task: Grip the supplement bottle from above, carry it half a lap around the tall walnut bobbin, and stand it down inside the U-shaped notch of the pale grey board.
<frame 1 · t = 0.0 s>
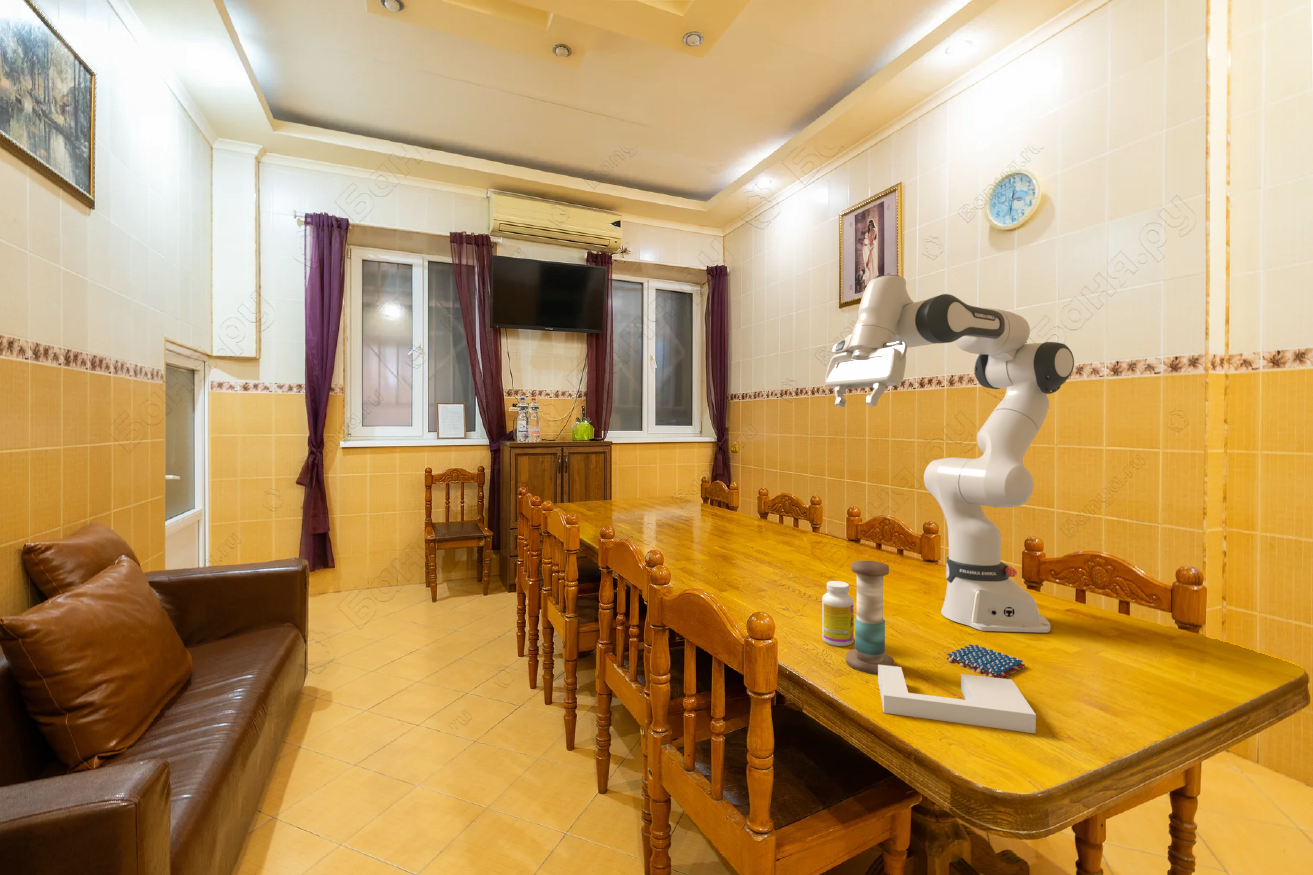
hand: (854, 405, 120), 52 cm above the table, tool tilted 20°, fingers open, 8 cm apart
notched board: (949, 704, 96), on the table
bobbin: (869, 663, 112), on the table
woven mat: (985, 667, 111), on the table
supplement bottle: (837, 642, 123), on the table
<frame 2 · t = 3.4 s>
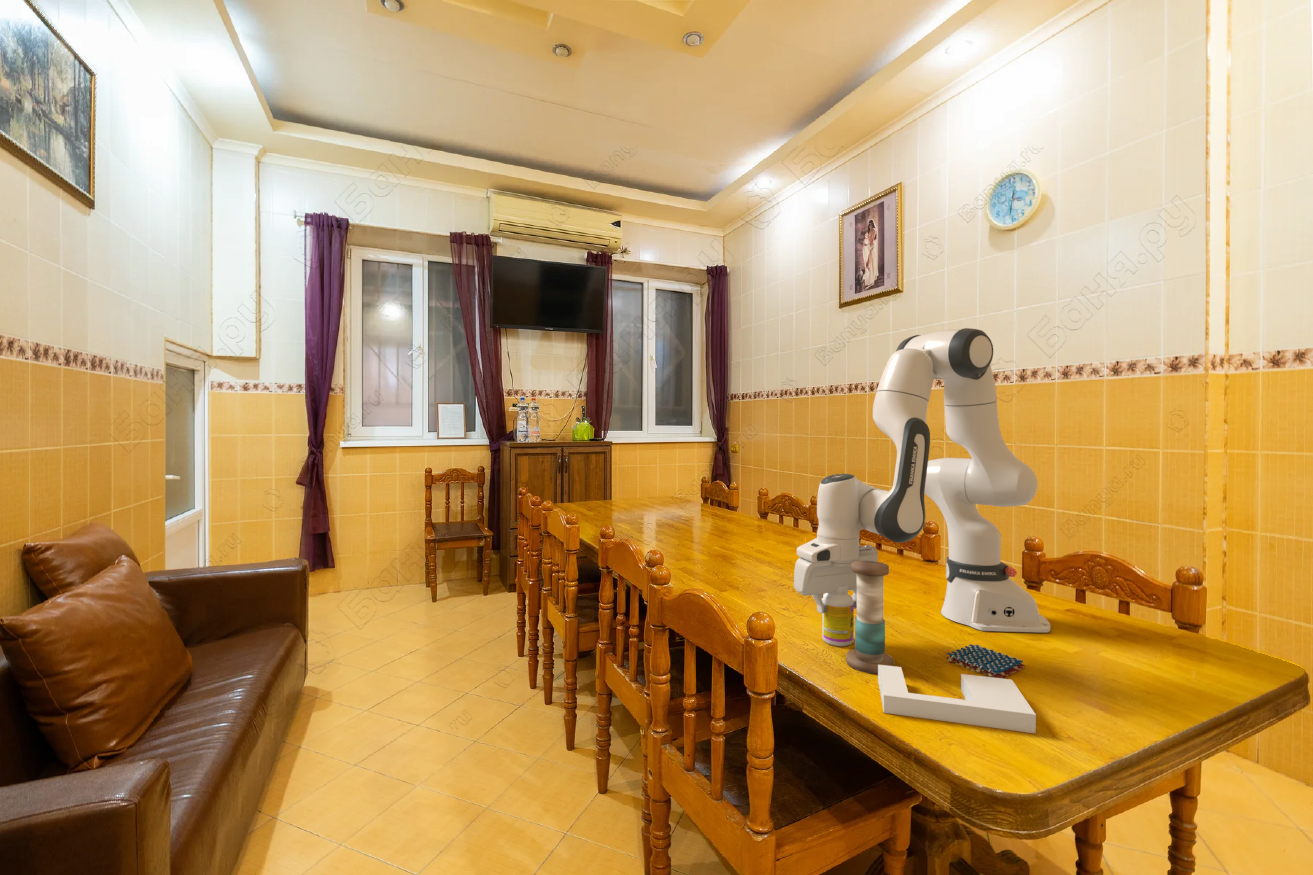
hand: (837, 610, 123), 7 cm above the table, tool pointing down, fingers closed on supplement bottle, 7 cm apart
supplement bottle: (837, 642, 123), on the table, touching gripper
everything else where it was.
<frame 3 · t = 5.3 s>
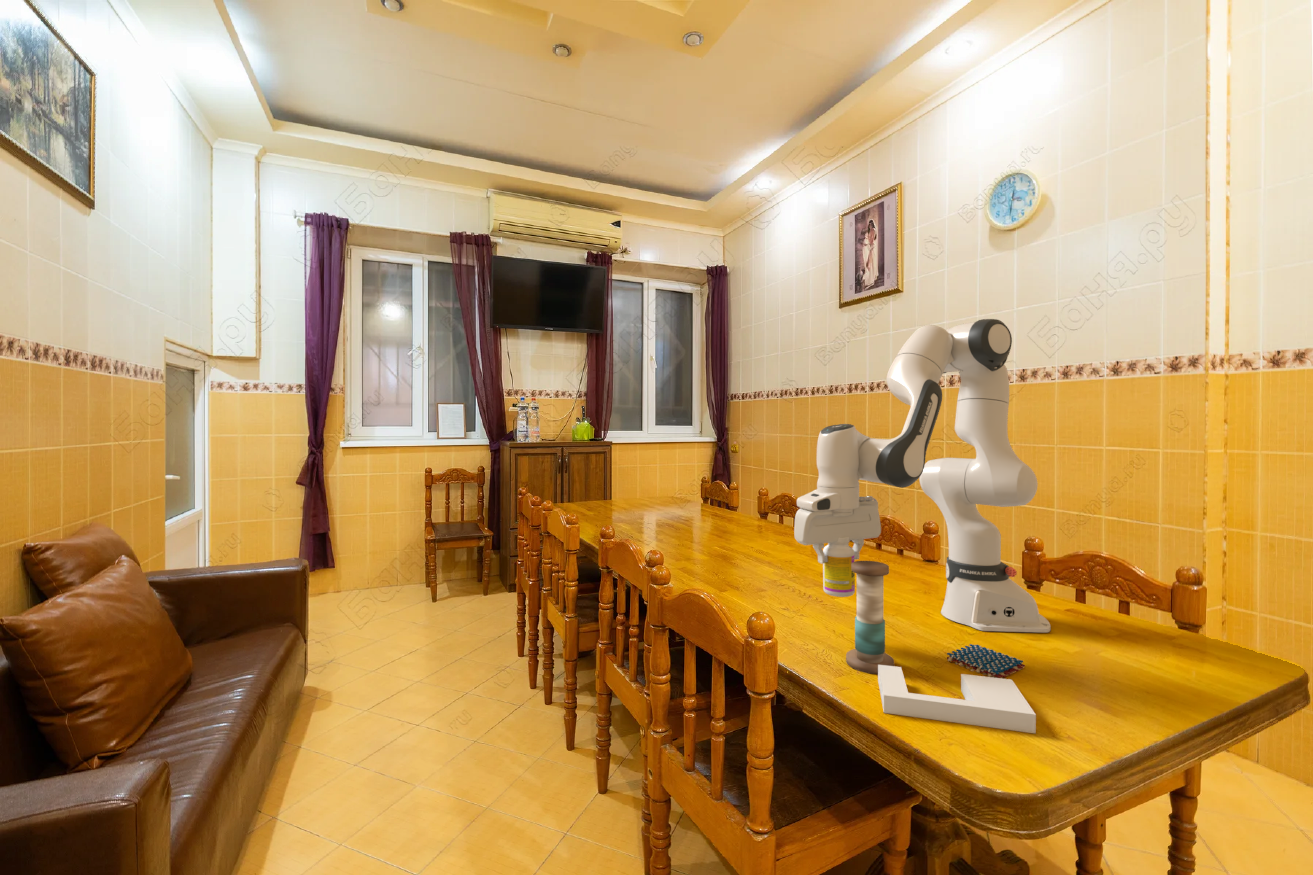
hand: (838, 560, 122), 18 cm above the table, tool pointing down, fingers closed on supplement bottle, 7 cm apart
supplement bottle: (838, 593, 123), point 11 cm above the table, touching gripper
everything else where it was.
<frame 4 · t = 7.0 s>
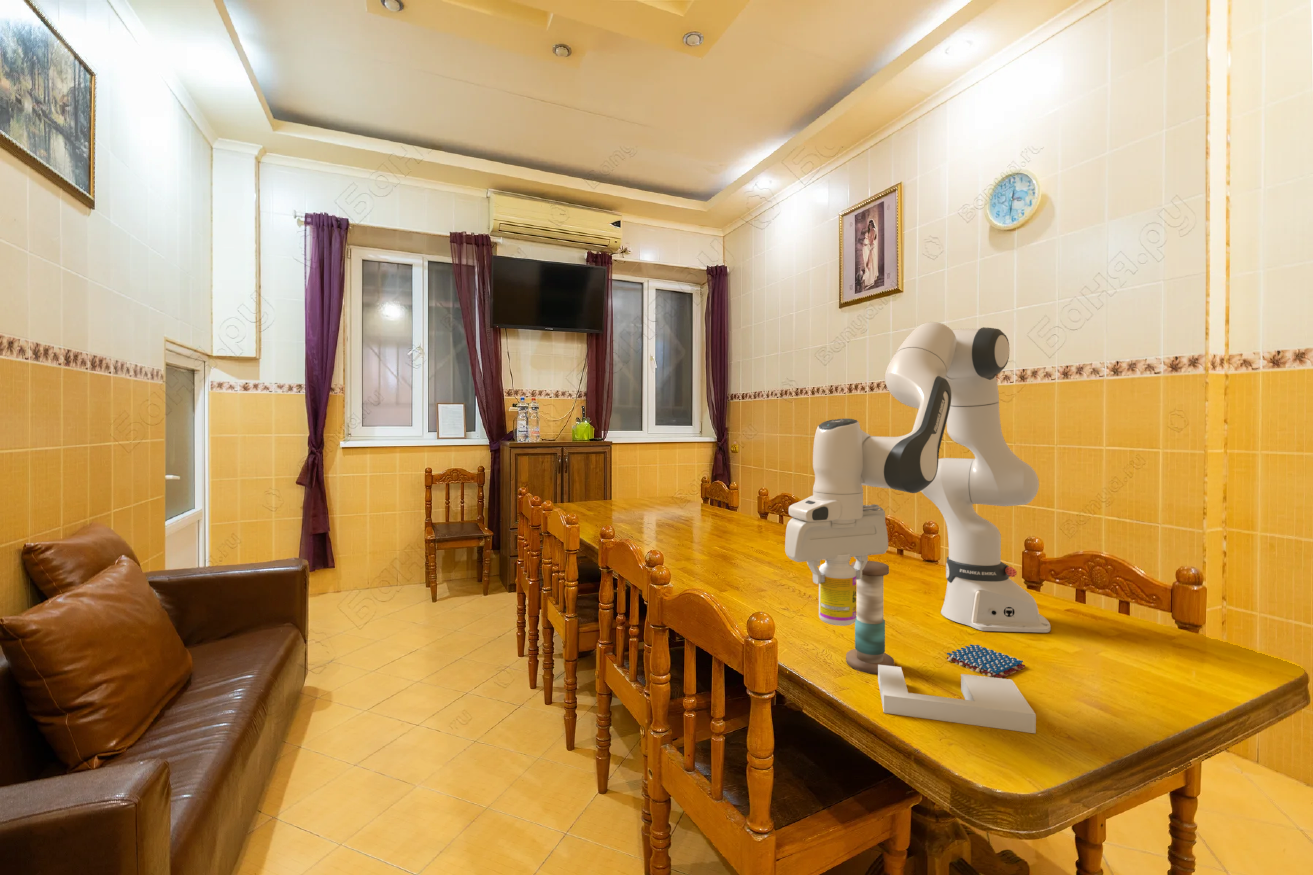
hand: (837, 580, 103), 19 cm above the table, tool pointing down, fingers closed on supplement bottle, 7 cm apart
supplement bottle: (837, 621, 103), point 12 cm above the table, touching gripper
everything else where it was.
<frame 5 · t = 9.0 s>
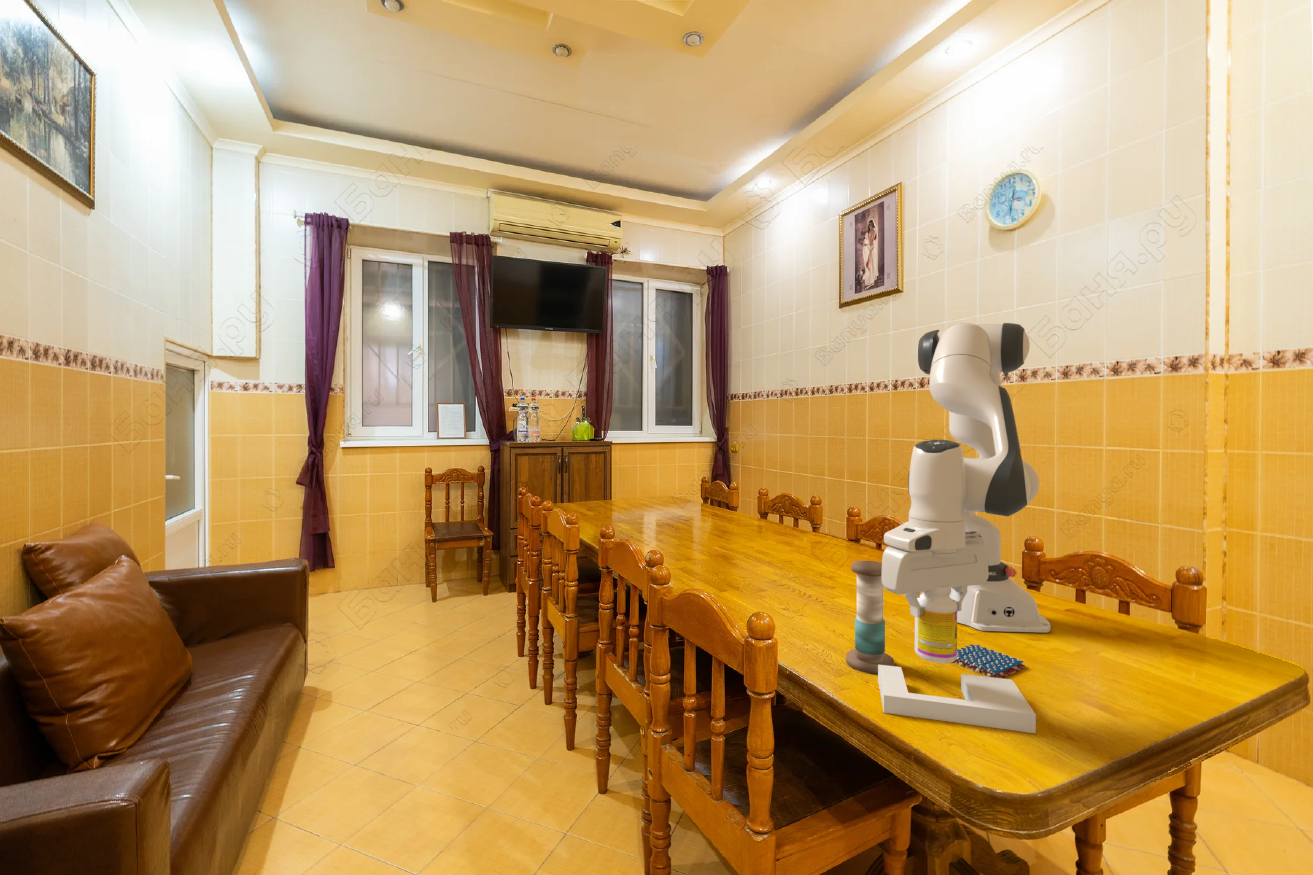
hand: (935, 613, 97), 15 cm above the table, tool pointing down, fingers closed on supplement bottle, 7 cm apart
supplement bottle: (935, 657, 97), point 8 cm above the table, touching gripper
everything else where it was.
when the fingers open (8 cm above the table, at t = 10.7 s): supplement bottle stays where it is, on the table.
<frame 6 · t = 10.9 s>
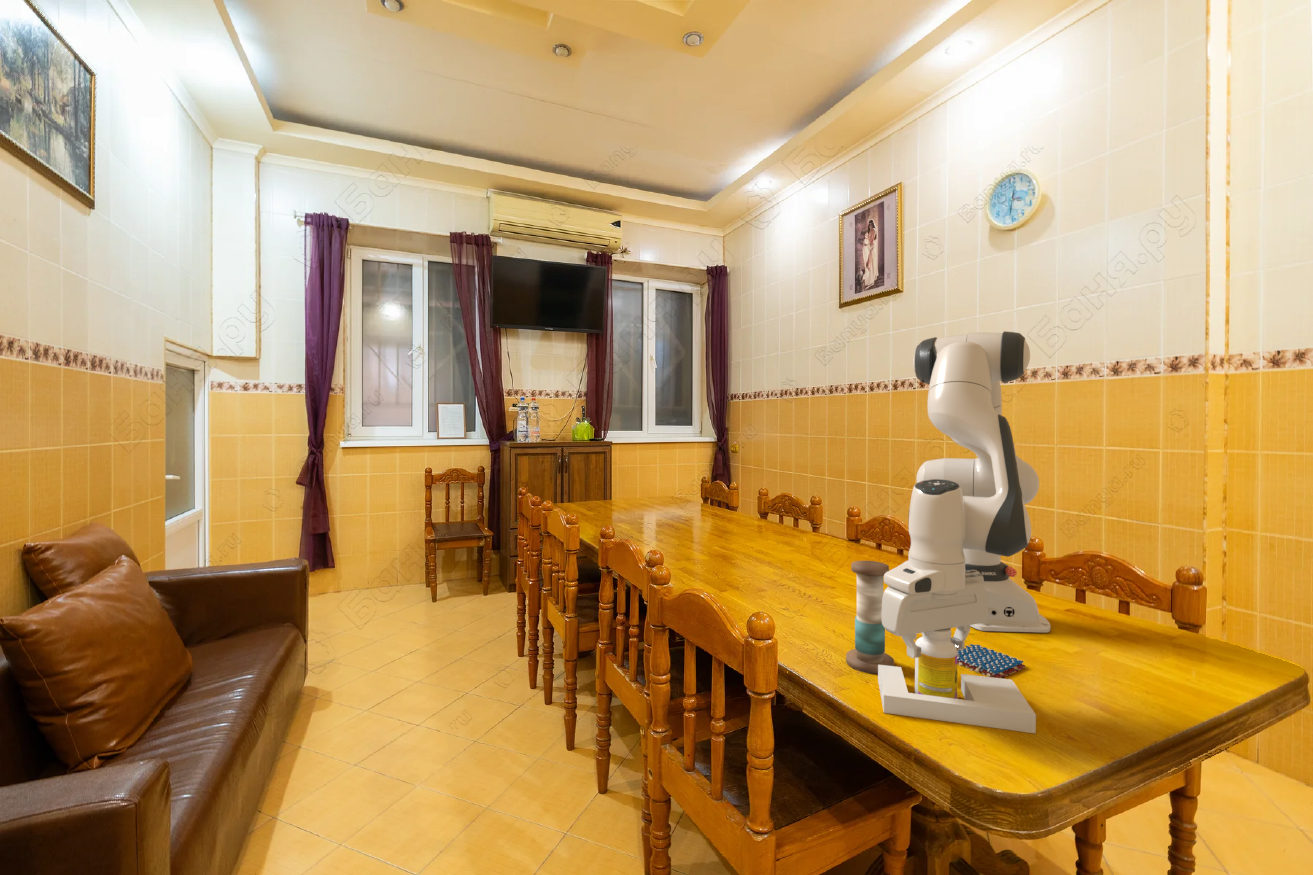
hand: (935, 652, 97), 8 cm above the table, tool pointing down, fingers open, 8 cm apart
supplement bottle: (935, 700, 97), on the table
everything else where it was.
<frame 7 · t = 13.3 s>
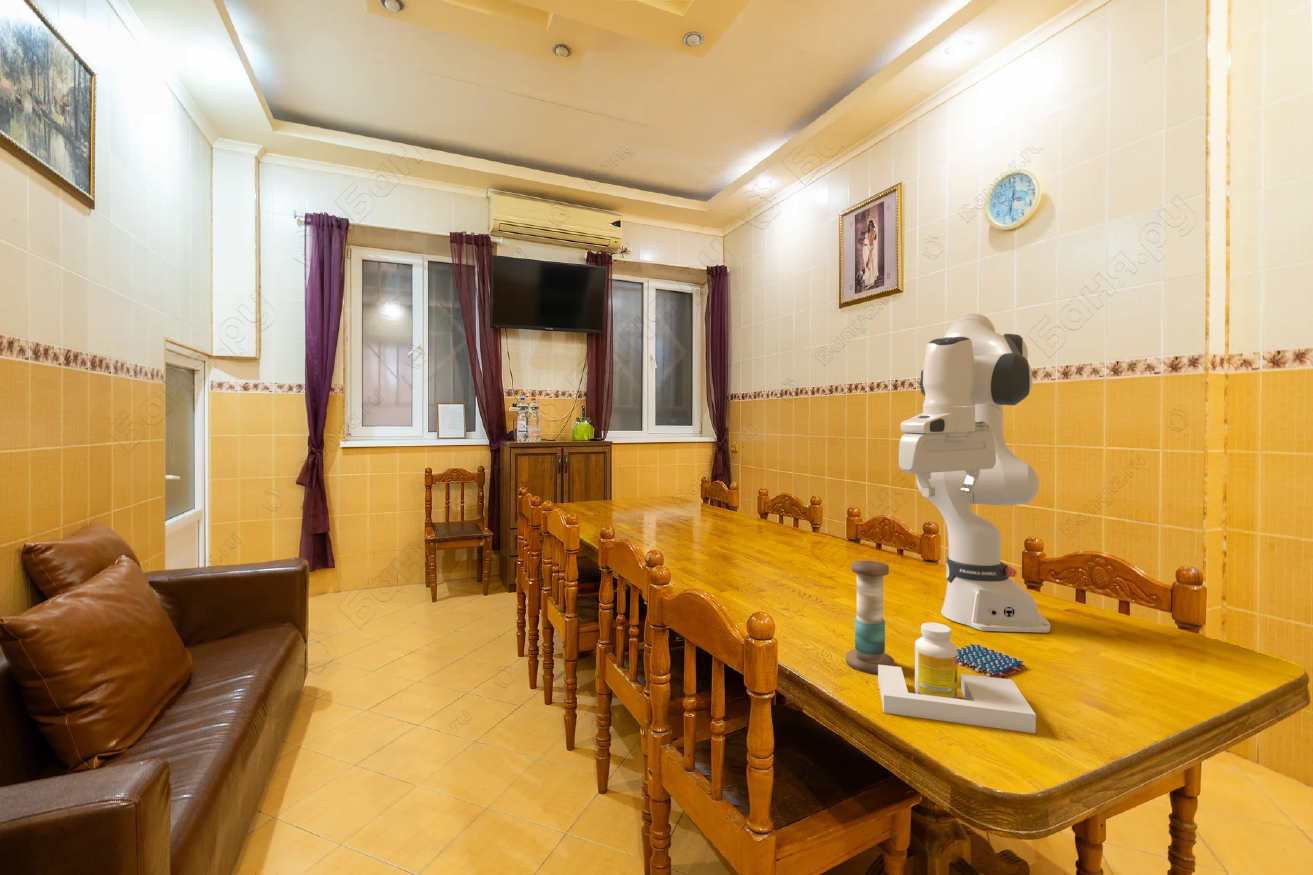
hand: (948, 494, 106), 35 cm above the table, tool pointing down, fingers open, 8 cm apart
nothing on the table moved.
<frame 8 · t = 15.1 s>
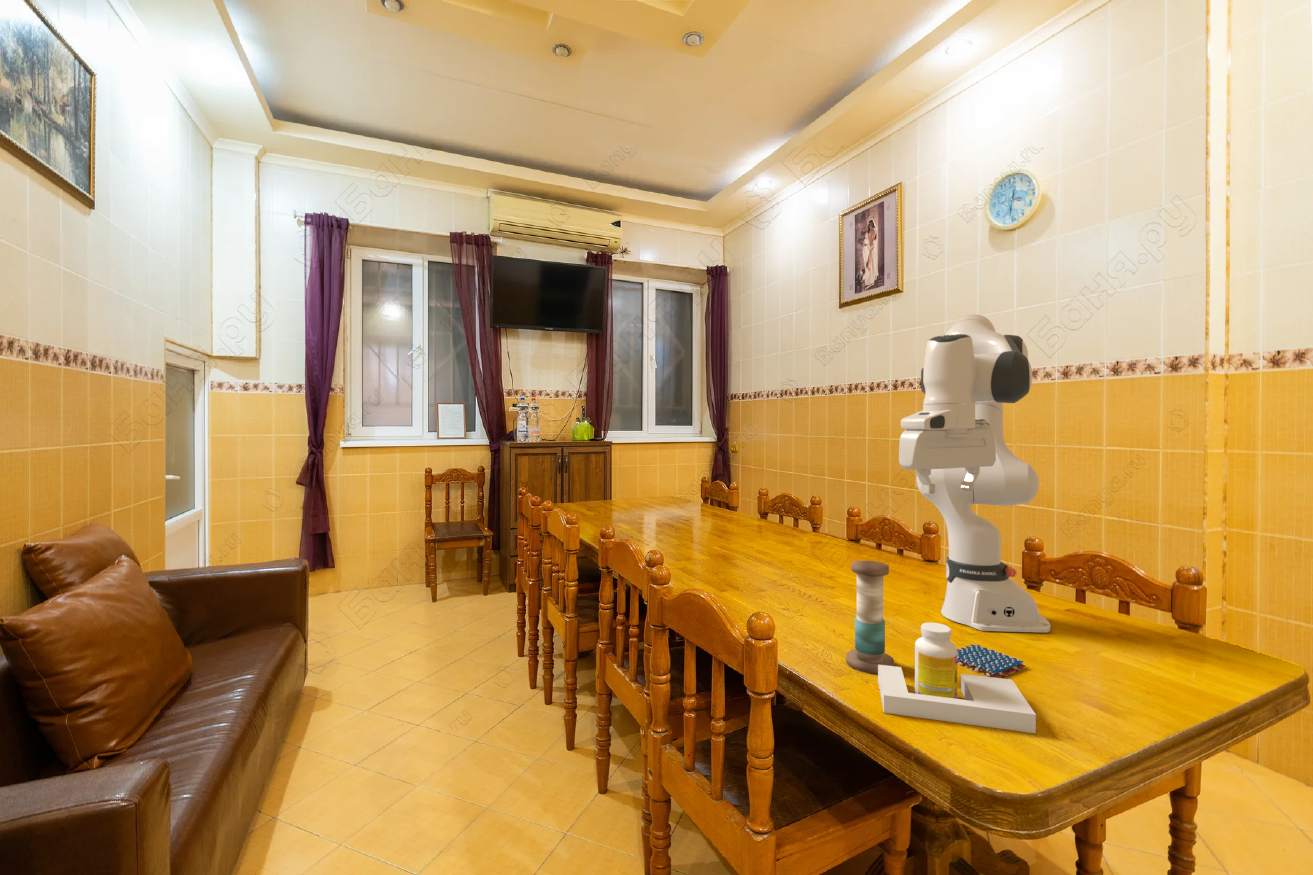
hand: (948, 491, 106), 35 cm above the table, tool pointing down, fingers open, 8 cm apart
nothing on the table moved.
at the end: supplement bottle 0.6 cm from the target spot on the notched board, point 0.0 cm above the notched board's base; supplement bottle tilted 0°; the gripper is holding nothing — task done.
